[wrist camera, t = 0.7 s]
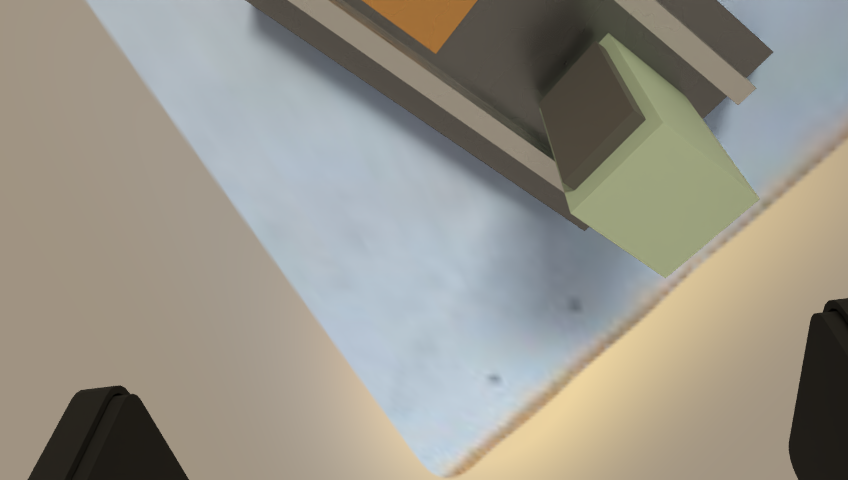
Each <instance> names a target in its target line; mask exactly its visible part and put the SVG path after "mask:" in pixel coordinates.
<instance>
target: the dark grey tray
mask: <svg viewBox="0 0 848 480" xmlns="http://www.w3.org/2000/svg"><path fill="white" fill-rule="evenodd" d="M246 1H247V2H249V3H250V4H252V5H253V6H255V7H256V8H258V9H259V10H261V11H262V12H264V13H265V14H266V15H268V16H269V17H271V18H272V19H274V20H275V21H277V22H278V23H280V24H281V25H283V26H284V27H286V28H287V29H288V30H290V31H291V32H293V33H294V34H296V35H297V36H299V37H300V38H302V39H303V40H305V41H306V42H308V43H309V44H311V45H312V46H313V47H315V48H316V49H318V50H319V51H321V52H322V53H324V54H325V55H327V56H328V57H330V58H331V59H333V60H334V61H336V62H337V63H338V64H340V65H341V66H343V67H344V68H346V69H347V70H349V71H350V72H352V73H353V74H355V75H356V76H358V77H359V78H360V79H362V80H363V81H365V82H366V83H368V84H369V85H371V86H372V87H374V88H375V89H377V90H378V91H380V92H381V93H383V94H384V95H385V96H387V97H388V98H390V99H391V100H393V101H394V102H396V103H397V104H399V105H400V106H402V107H403V108H405V109H406V110H408V111H409V112H410V113H412V114H413V115H415V116H416V117H418V118H419V119H421V120H422V121H424V122H425V123H427V124H428V125H430V126H431V127H433V128H434V129H435V130H437V131H438V132H440V133H441V134H443V135H444V136H446V137H447V138H449V139H450V140H452V141H453V142H455V143H456V144H457V145H459V146H460V147H462V148H463V149H465V150H466V151H468V152H469V153H471V154H472V155H474V156H475V157H477V158H478V159H480V160H481V161H482V162H484V163H485V164H487V165H488V166H490V167H491V168H493V169H494V170H496V171H497V172H499V173H500V174H502V175H503V176H505V177H506V178H507V179H509V180H510V181H512V182H513V183H515V184H516V185H518V186H519V187H521V188H522V189H524V190H525V191H527V192H528V193H529V194H531V195H532V196H534V197H535V198H537V199H538V200H540V201H541V202H543V203H544V204H546V205H547V206H549V207H550V208H552V209H553V210H554V211H556V212H557V213H559V214H560V215H562V216H563V217H565V218H566V219H568V220H569V221H571V222H572V223H574V224H575V225H577V226H578V227H579V228H581V229H582V230H584V231H585V230H586V229H587V228H588V227H589V226H588V225H587V224H585V223H584V222H583V221H581V220H580V219H578V218H577V217H575V216H574V215H572V214H571V213H570V210H569V206H568V203H567V200H566V196H565V193H564V190H563V186H562V183H561V179H560V176H559V173H558V169H557V166H556V163H555V159H554V156H553V153H552V149H551V146H550V143H549V139H548V136H547V133H546V129H545V126H544V123H543V119H542V116H541V113H540V105H539V103H540V102H541V101H542V99H543V98H544V97H545V96H546V95H547V94H548V93H549V92H550V91H551V89H552V88H553V87H554V86H555V85H556V84H557V83H558V82H559V81H560V79H561V78H562V77H563V76H564V75H565V74H566V73H567V72H568V71H569V69H570V68H571V67H572V66H573V65H574V64H575V63H576V62H577V61H578V59H579V58H580V57H581V56H582V55H583V54H584V53H585V52H586V51H587V49H588V48H589V47H590V46H591V45H592V44H593V43H594V42H595V41H597V42H598V43H599V42H600V41H601V40H602V39H603V38H604V37H605V36H606V35H607V34H608V33H609V34H611V35H612V36H613V37H614V38H615V39H617V40H618V41H619V42H620V43H621V44H623V45H624V46H625V47H626V48H628V49H629V50H630V51H631V52H632V53H634V54H635V55H636V56H637V57H639V58H640V59H641V60H642V61H643V62H645V63H646V64H647V65H648V66H649V67H651V68H652V69H653V70H654V71H656V72H657V73H658V74H659V75H660V76H662V77H663V78H664V79H665V80H667V81H668V82H669V83H670V84H671V85H673V86H674V87H675V88H676V89H677V90H679V91H680V92H681V93H682V94H684V95H685V96H686V97H687V99H688V100H689V101H690V103H691V104H692V106H693V107H694V108H695V110H696V111H697V113H698V114H699V115H700V117H701V118H702V119H703V118H704V117H705V116H706V115H707V114H709V113H710V112H711V111H712V110H713V109H714V108H715V107H716V106H717V105H718V104H719V103H720V102H721V101H722V100H723V99H724V98H725V97H726V96H728V97H729V98H730V99H731V100H733V101H734V102H735V103H736V104H737V105H739V104H740V103H741V102H742V101H743V100H744V99H745V98H746V97H747V96H748V95H750V94H751V93H752V92H753V91H754V90H755V89H756V88H755V86H754V85H753V84H752V83H751V82H750V81H749V80H748V79H747V77H748V76H749V75H750V74H751V73H752V72H753V71H754V70H755V69H756V68H757V67H758V66H759V65H760V64H761V63H762V62H763V61H765V60H766V59H767V58H768V57H769V56H770V55H771V54H772V53H773V51H772V50H771V49H770V48H768V47H767V46H766V45H765V44H764V43H763V42H762V41H761V40H760V39H759V38H757V37H756V36H755V35H754V34H753V33H752V32H751V31H750V30H749V29H748V28H746V27H745V26H744V25H743V24H742V23H741V22H740V21H739V20H738V19H737V18H735V17H734V16H733V15H732V14H731V13H730V12H729V11H728V10H727V9H725V8H724V7H723V6H722V5H721V4H720V3H719V2H718V1H717V0H246Z"/></svg>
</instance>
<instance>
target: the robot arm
mask: <svg viewBox="0 0 848 480" xmlns="http://www.w3.org/2000/svg"><path fill="white" fill-rule="evenodd" d="M789 454H790V459H791V463H792V466H793V469H794V471H795V473H796V475H797V478H798V480H848V298H846V299H838V300H830V301H828V302H827V303H826V304H825V307H824V310H823V313H816V314H813V316H812V317H811V321H810V326H809V332H808V337H807V343H806V349H805V354H804V360H803V366H802V372H801V377H800V383H799V389H798V394H797V400H796V405H795V411H794V417H793V422H792V428H791V434H790V439H789ZM28 480H189V479H188V477H187V476H186V474H185V473H184V471H183V469H182V468H181V466H180V464H179V462H178V461H177V459H176V457H175V456H174V454H173V453H172V451H171V449H170V448H169V446H168V444H167V443H166V441H165V439H164V438H163V436H162V434H161V433H160V431H159V429H158V428H157V426H156V424H155V423H154V421H153V420H152V418H151V416H150V414H149V413H148V411H147V409H146V408H145V406H144V405H143V403H142V401H141V400H140V398H139V397H138V396H137V395H135V394H130V393H129V392H128V391H127V390H126V388H124V387H122V386H111V387H104V388H95V389H86V390H81V391H79V392H77V393H76V394H75V395H74V397H73V398H72V399H71V401H70V403H69V405H68V407H67V409H66V410H65V412H64V414H63V416H62V418H61V420H60V421H59V423H58V425H57V427H56V429H55V431H54V433H53V434H52V437H51V438H50V440H49V442H48V443H47V446H46V447H45V449H44V451H43V453H42V454H41V456H40V458H39V460H38V462H37V464H36V465H35V467H34V469H33V471H32V473H31V475H30V477H29V479H28Z"/></svg>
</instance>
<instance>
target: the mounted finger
mask: <svg viewBox="0 0 848 480" xmlns="http://www.w3.org/2000/svg"><path fill="white" fill-rule="evenodd" d="M539 105H540V113H541V116H542V119H543V123H544V126H545V129H546V133H547V136H548V139H549V143H550V146H551V149H552V153H553V156H554V159H555V163H556V166H557V169H558V173H559V176H560V179H561V183H562V186H563V190H564V193H565V196H566V200H567V203H568V206H569V210H570V213H571V214H572V215H574V216H575V217H577V218H578V219H580V220H581V221H583V222H584V223H585V224H587V225H588V226H590V227H591V228H593V229H594V230H596V231H597V232H599V233H600V234H602V235H603V236H604V237H606V238H607V239H609V240H610V241H612V242H613V243H615V244H616V245H618V246H619V247H620V248H622V249H623V250H625V251H626V252H628V253H629V254H631V255H632V256H634V257H635V258H636V259H638V260H639V261H641V262H642V263H644V264H645V265H647V266H648V267H650V268H651V269H653V270H654V271H655V272H657V273H658V274H660V275H661V276H663V277H664V278H666V277H668V276H669V275H670V274H671V273H672V272H673V271H675V270H676V269H677V268H678V267H679V266H681V265H682V264H683V263H684V262H685V261H687V260H688V259H689V258H690V257H691V256H693V255H694V254H695V253H696V252H697V251H698V250H700V249H701V248H702V247H703V246H704V245H706V244H707V243H708V242H709V241H710V240H712V239H713V238H714V237H715V236H716V235H717V234H719V233H720V232H721V231H722V230H723V229H725V228H726V227H727V226H728V225H729V224H731V223H732V222H733V221H734V220H735V219H737V218H738V217H739V216H740V215H741V214H742V213H744V212H745V211H746V210H747V209H748V208H750V207H751V206H752V205H753V204H754V203H756V202H757V201H758V200H759V197H758V196H757V194H756V193H755V192H754V190H753V189H752V187H751V186H750V185H749V183H748V182H747V181H746V179H745V178H744V176H743V175H742V174H741V172H740V171H739V169H738V168H737V167H736V165H735V164H734V162H733V161H732V160H731V158H730V157H729V156H728V154H727V153H726V151H725V150H724V149H723V147H722V146H721V144H720V143H719V142H718V140H717V139H716V137H715V136H714V135H713V133H712V132H711V131H710V129H709V128H708V126H707V125H706V124H705V122H704V121H703V119H702V118H701V117H700V115H699V114H698V113H697V111H696V110H695V108H694V107H693V106H692V104H691V103H690V101H689V100H688V99H687V97H686V96H685V95H684V94H682V93H681V92H680V91H679V90H677V89H676V88H675V87H674V86H673V85H671V84H670V83H669V82H668V81H667V80H665V79H664V78H663V77H662V76H660V75H659V74H658V73H657V72H656V71H654V70H653V69H652V68H651V67H649V66H648V65H647V64H646V63H645V62H643V61H642V60H641V59H640V58H639V57H637V56H636V55H635V54H634V53H632V52H631V51H630V50H629V49H628V48H626V47H625V46H624V45H623V44H621V43H620V42H619V41H618V40H617V39H615V38H614V37H613V36H612V35H611V34H609V33H608V34H607V35H606V36H605V37H604V38H603V39H602V40H601V41H600V42H599V43H598V42H597V41H595V42H594V43H593V44H592V45H591V46H590V47H589V48H588V49H587V51H586V52H585V53H584V54H583V55H582V56H581V57H580V58H579V59H578V61H577V62H576V63H575V64H574V65H573V66H572V67H571V68H570V69H569V71H568V72H567V73H566V74H565V75H564V76H563V77H562V78H561V79H560V81H559V82H558V83H557V84H556V85H555V86H554V87H553V88H552V89H551V91H550V92H549V93H548V94H547V95H546V96H545V97H544V98H543V99H542V101H541V102H540V103H539Z"/></svg>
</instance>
